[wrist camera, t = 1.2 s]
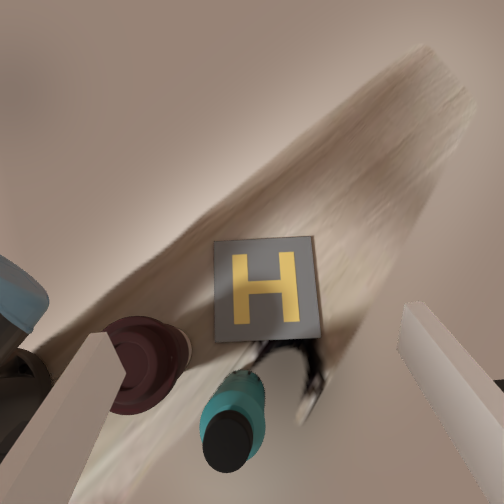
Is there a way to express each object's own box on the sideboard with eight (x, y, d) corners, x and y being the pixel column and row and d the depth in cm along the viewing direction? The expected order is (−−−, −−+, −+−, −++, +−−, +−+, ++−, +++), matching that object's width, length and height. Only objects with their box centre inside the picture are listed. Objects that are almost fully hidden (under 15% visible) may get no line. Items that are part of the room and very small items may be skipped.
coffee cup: (196, 312, 44) (167, 307, 30) (205, 379, 42) (179, 409, 27) (133, 324, 44) (73, 325, 29) (139, 392, 42) (77, 430, 27)
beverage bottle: (268, 370, 42) (273, 406, 23) (261, 420, 40) (261, 504, 21) (225, 363, 42) (194, 391, 23) (217, 412, 41) (176, 486, 21)
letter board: (215, 342, 43) (214, 342, 43) (214, 242, 47) (213, 241, 47) (320, 337, 43) (321, 337, 42) (309, 237, 47) (310, 236, 46)
